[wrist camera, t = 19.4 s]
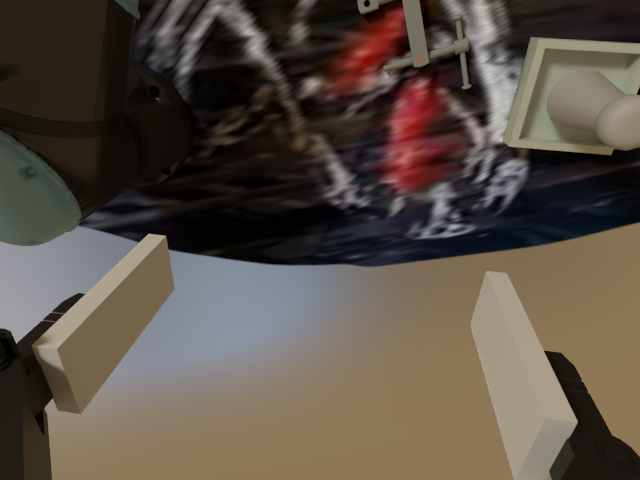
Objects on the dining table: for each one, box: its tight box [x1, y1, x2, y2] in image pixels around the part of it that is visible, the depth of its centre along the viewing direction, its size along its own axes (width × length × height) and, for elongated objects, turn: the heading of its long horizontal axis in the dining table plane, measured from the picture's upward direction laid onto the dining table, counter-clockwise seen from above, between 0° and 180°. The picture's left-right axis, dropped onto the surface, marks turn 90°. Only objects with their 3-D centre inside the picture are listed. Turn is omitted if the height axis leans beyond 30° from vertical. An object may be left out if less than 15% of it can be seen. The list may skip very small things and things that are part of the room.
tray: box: [503, 37, 640, 155], centre depth 42 cm, size 11×11×2 cm
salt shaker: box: [547, 70, 640, 150], centre depth 37 cm, size 6×6×13 cm
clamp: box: [358, 0, 471, 89], centre depth 42 cm, size 15×2×10 cm
